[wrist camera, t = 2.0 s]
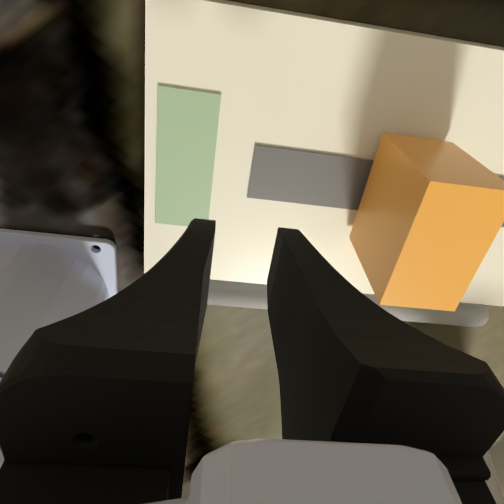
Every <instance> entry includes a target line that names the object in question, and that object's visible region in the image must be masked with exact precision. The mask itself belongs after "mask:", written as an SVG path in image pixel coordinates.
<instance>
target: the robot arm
mask: <svg viewBox="0 0 504 504" xmlns="http://www.w3.org/2000/svg"><path fill="white" fill-rule="evenodd" d="M215 228H216V220H207V219H198V218H194V219H193V220H192V221H191V222H190V224H189V225H188V227H187V229H186V230H185V232H184V233H183V234H182V236H181V237H180V238H179V240H178V241H177V242H176V243H175V244H174V245H173V247H172V248H171V249H170V250H169V251H168V252H167V253H166V254H165V255H164V256H163V257H162V258H161V259H160V260H159V261H158V262H157V263H156V264H155V265H154V266H153V267H152V268H151V269H150V270H149V271H147V272H146V273H145V274H144V275H143V276H141V277H140V278H139V279H137V280H136V281H135V282H133V283H132V284H131V285H129V286H128V287H126V288H125V289H123V290H122V291H120V292H118V283H117V258H116V245H115V244H114V242H112V241H111V240H108V239H101V238H91V237H81V236H71V235H61V234H51V233H41V232H31V231H21V230H11V229H1V228H0V504H496V502H495V500H494V498H493V496H492V494H491V492H490V490H489V488H488V486H487V484H486V482H485V480H489V478H490V477H491V472H490V470H489V468H488V466H487V464H486V462H485V460H484V458H483V456H484V455H485V454H486V452H487V451H488V450H489V449H490V447H491V446H492V445H493V444H494V442H495V441H496V440H497V439H498V437H499V436H500V435H501V433H502V432H503V431H504V388H503V387H502V385H501V384H500V382H499V381H498V379H497V378H496V376H495V375H494V373H493V372H492V370H491V369H490V367H489V366H488V364H487V363H486V362H484V361H482V360H479V359H477V358H475V357H473V356H470V355H468V354H466V353H463V352H461V351H459V350H457V349H454V348H452V347H450V346H447V345H445V344H443V343H441V342H439V341H437V340H435V339H433V338H432V337H430V336H428V335H426V334H424V333H422V332H420V331H418V330H417V329H415V328H413V327H411V326H409V325H408V324H406V323H404V322H403V321H401V320H400V319H398V318H397V317H395V316H393V315H392V314H390V313H389V312H387V311H386V310H384V309H383V308H381V307H380V306H378V305H377V304H376V303H374V302H373V301H372V300H370V299H369V298H368V297H366V296H365V295H364V294H363V293H361V292H360V291H359V290H358V289H356V288H355V287H354V286H353V285H352V284H351V283H350V282H348V281H347V280H346V279H345V278H344V277H343V276H342V275H341V274H340V273H339V272H338V271H337V270H336V269H335V268H334V267H333V266H332V265H331V264H330V263H329V262H328V261H327V260H326V259H325V258H324V257H323V256H322V255H321V254H320V253H319V252H318V251H317V249H316V248H315V247H314V246H313V245H312V244H311V243H310V242H309V240H308V239H307V238H306V237H305V236H304V235H303V234H302V233H301V232H300V231H299V230H298V229H290V228H281V227H278V230H277V235H276V240H275V245H274V250H273V254H272V259H271V264H270V269H269V274H268V278H267V306H268V315H269V321H270V327H271V333H272V339H273V345H274V351H275V356H276V362H277V368H278V375H279V383H280V398H281V415H282V438H283V439H267V438H262V439H252V440H243V441H233V442H231V443H229V444H227V445H225V446H222V447H220V448H218V449H216V450H214V451H212V452H210V453H208V454H207V455H205V456H204V457H203V458H202V460H201V461H200V463H199V464H198V466H197V468H196V469H195V471H194V472H193V474H192V478H191V486H190V494H189V497H185V498H181V495H182V485H183V475H184V466H185V456H186V447H187V437H188V427H189V417H190V408H191V398H192V388H193V379H194V368H195V362H196V357H197V352H198V347H199V342H200V337H201V332H202V327H203V322H204V317H205V312H206V307H207V300H208V291H209V282H210V274H211V265H212V256H213V247H214V238H215ZM93 245H97V246H99V247H100V249H95V248H94V247H93Z"/></svg>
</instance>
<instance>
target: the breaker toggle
mask: <svg viewBox="0 0 504 504" xmlns="http://www.w3.org/2000/svg"><path fill="white" fill-rule="evenodd" d="M503 222H504V180H502V179H501V178H500V177H498V176H497V175H496V174H494V173H493V172H492V171H490V170H489V169H488V168H486V167H485V166H484V165H482V164H481V163H480V162H478V161H477V160H476V159H474V158H473V157H472V156H470V155H469V154H468V153H466V152H465V151H464V150H462V149H461V148H459V147H458V146H457V145H455V144H454V143H453V142H448V141H441V140H433V139H426V138H419V137H412V136H404V135H397V134H390V133H382V137H381V140H380V143H379V146H378V149H377V152H376V155H375V158H374V162H373V165H372V168H371V171H370V174H369V177H368V180H367V183H366V186H365V190H364V193H363V196H362V199H361V202H360V205H359V208H358V211H357V215H356V218H355V221H354V224H353V227H352V230H351V233H350V236H349V238H350V241H351V243H352V245H353V247H354V249H355V252H356V254H357V256H358V258H359V261H360V263H361V265H362V267H363V269H364V272H365V274H366V276H367V278H368V281H369V283H370V285H371V287H372V289H373V292H374V294H375V296H376V298H377V301H378V303H379V305H387V306H398V307H409V308H420V309H432V310H443V311H454V312H455V310H456V308H457V306H458V305H459V303H460V301H461V299H462V297H463V295H464V294H465V292H466V290H467V288H468V286H469V284H470V283H471V281H472V279H473V277H474V275H475V273H476V272H477V270H478V268H479V266H480V264H481V262H482V261H483V259H484V257H485V255H486V253H487V251H488V250H489V248H490V246H491V244H492V242H493V241H494V239H495V237H496V235H497V233H498V231H499V230H500V228H501V226H502V224H503Z"/></svg>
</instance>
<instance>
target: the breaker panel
mask: <svg viewBox="0 0 504 504" xmlns="http://www.w3.org/2000/svg"><path fill="white" fill-rule="evenodd" d="M382 133H390V134H397V135H404V136H412V137H419V138H426V139H433V140H441V141H448V142H453V143H454V144H455V145H457V146H458V147H459V148H461V149H462V150H464V151H465V152H466V153H468V154H469V155H470V156H472V157H473V158H474V159H476V160H477V161H478V162H480V163H481V164H482V165H484V166H485V167H486V168H488V169H489V170H490V171H492V172H493V173H494V174H496V175H497V176H498V177H500V178H501V179H502V180H504V47H501V46H495V45H489V44H483V43H477V42H471V41H465V40H459V39H453V38H448V37H442V36H436V35H430V34H424V33H418V32H412V31H406V30H400V29H394V28H388V27H382V26H376V25H370V24H364V23H359V22H353V21H347V20H341V19H335V18H329V17H323V16H317V15H311V14H305V13H299V12H293V11H287V10H281V9H276V8H270V7H264V6H258V5H252V4H246V3H240V2H234V1H228V0H145V185H144V273H146V272H147V271H149V270H150V269H151V268H152V267H153V266H154V265H155V264H156V263H157V262H158V261H159V260H160V259H161V258H162V257H163V256H164V255H165V254H166V253H167V252H168V251H169V250H170V249H171V248H172V247H173V245H174V244H175V243H176V242H177V241H178V240H179V238H180V237H181V236H182V234H183V233H184V232H185V230H186V229H187V227H188V225H189V224H190V222H191V221H192V220H193V219H194V218H198V219H207V220H216V228H215V238H214V247H213V256H212V265H211V274H210V279H212V280H223V281H234V282H245V283H255V284H266V285H267V278H268V274H269V269H270V264H271V259H272V254H273V250H274V245H275V240H276V235H277V230H278V227H281V228H290V229H298V230H299V231H300V232H301V233H302V234H303V235H304V236H305V237H306V238H307V239H308V240H309V242H310V243H311V244H312V245H313V246H314V247H315V248H316V249H317V251H318V252H319V253H320V254H321V255H322V256H323V257H324V258H325V259H326V260H327V261H328V262H329V263H330V264H331V265H332V266H333V267H334V268H335V269H336V270H337V271H338V272H339V273H340V274H341V275H342V276H343V277H344V278H345V279H346V280H347V281H348V282H350V283H351V284H352V285H353V286H354V287H355V288H356V289H358V290H359V291H360V292H361V293H364V294H374V292H373V289H372V287H371V285H370V283H369V281H368V278H367V276H366V274H365V272H364V269H363V267H362V265H361V263H360V261H359V258H358V256H357V254H356V252H355V249H354V247H353V245H352V243H351V241H350V238H349V236H350V233H351V230H352V227H353V224H354V221H355V218H356V215H357V211H358V208H359V205H360V202H361V199H362V196H363V193H364V190H365V186H366V183H367V180H368V177H369V174H370V171H371V168H372V165H373V162H374V158H375V155H376V152H377V149H378V146H379V143H380V140H381V137H382ZM460 302H462V303H473V304H484V305H495V306H504V222H503V224H502V226H501V228H500V230H499V231H498V233H497V235H496V237H495V239H494V241H493V242H492V244H491V246H490V248H489V250H488V251H487V253H486V255H485V257H484V259H483V261H482V262H481V264H480V266H479V268H478V270H477V272H476V273H475V275H474V277H473V279H472V281H471V283H470V284H469V286H468V288H467V290H466V292H465V294H464V295H463V297H462V299H461V301H460Z"/></svg>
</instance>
